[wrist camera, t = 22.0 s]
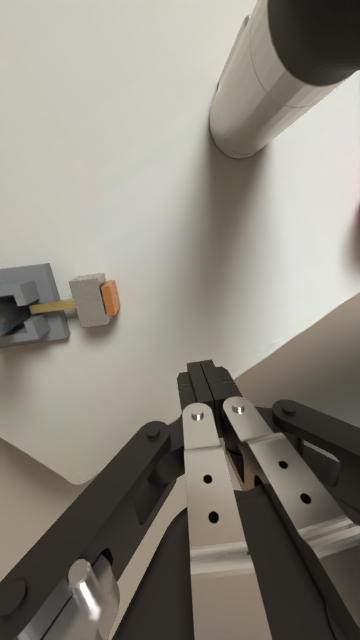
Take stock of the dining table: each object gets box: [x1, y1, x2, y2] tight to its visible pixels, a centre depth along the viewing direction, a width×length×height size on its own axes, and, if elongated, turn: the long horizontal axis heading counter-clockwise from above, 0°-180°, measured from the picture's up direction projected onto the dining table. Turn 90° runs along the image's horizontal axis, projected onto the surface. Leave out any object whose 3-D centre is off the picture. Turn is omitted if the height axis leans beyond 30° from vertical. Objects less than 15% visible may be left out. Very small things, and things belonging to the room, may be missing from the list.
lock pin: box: [29, 280, 120, 316], centre depth 35 cm, size 12×4×5 cm, turn 96°
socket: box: [0, 263, 70, 348], centre depth 35 cm, size 12×12×6 cm
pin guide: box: [69, 273, 112, 328], centre depth 36 cm, size 7×4×5 cm, turn 6°
